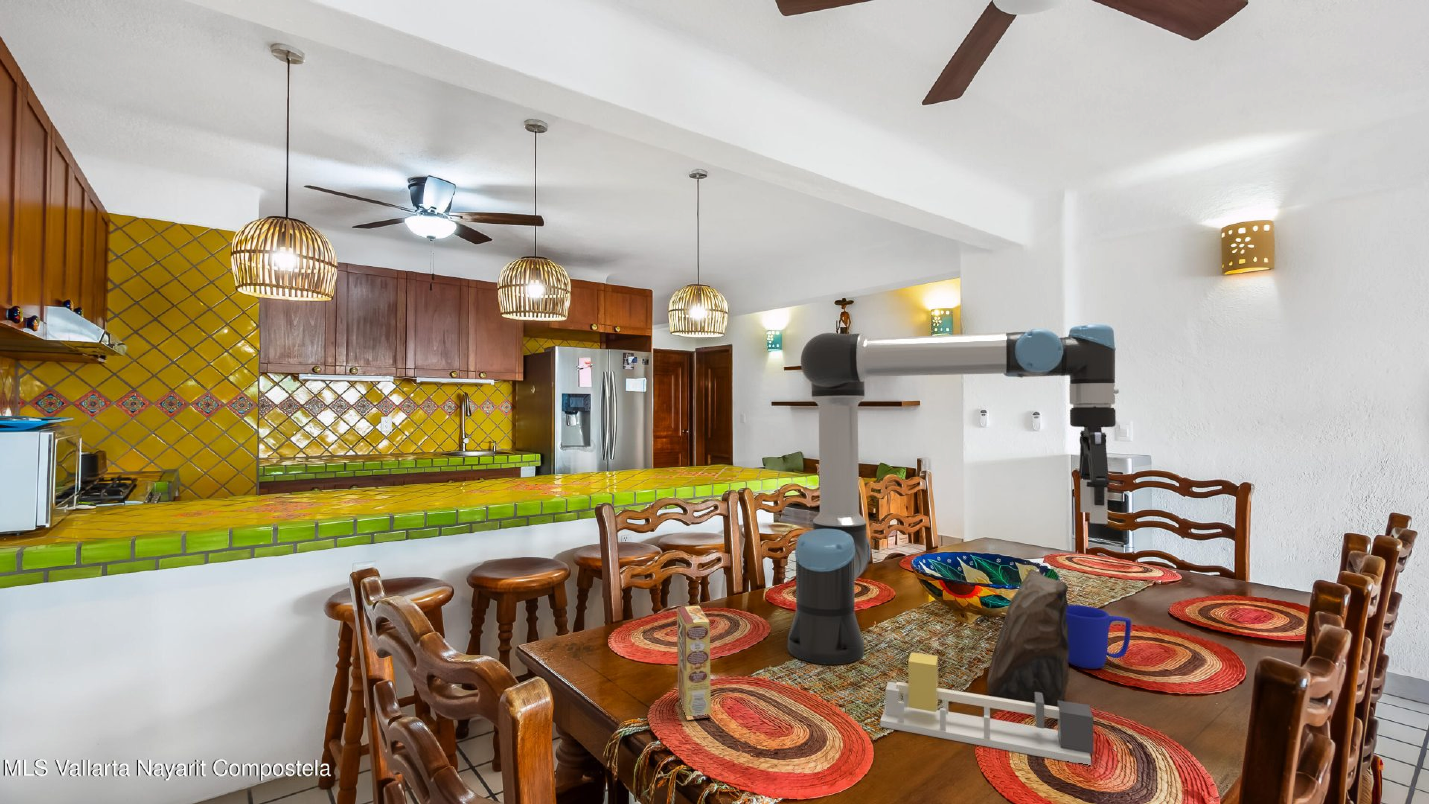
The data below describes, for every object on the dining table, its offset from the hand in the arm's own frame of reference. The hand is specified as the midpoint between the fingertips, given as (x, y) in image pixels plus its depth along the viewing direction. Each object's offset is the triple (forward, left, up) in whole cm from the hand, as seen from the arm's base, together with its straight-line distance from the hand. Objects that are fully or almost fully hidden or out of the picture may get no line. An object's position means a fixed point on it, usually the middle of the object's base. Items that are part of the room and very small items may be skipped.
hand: (1093, 517), depth 123 cm
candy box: (-63, -46, -28) cm, 83 cm away
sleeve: (-28, -37, -25) cm, 53 cm away
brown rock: (-13, -19, -28) cm, 36 cm away
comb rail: (-20, -37, -28) cm, 50 cm away
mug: (0, 0, -28) cm, 28 cm away
